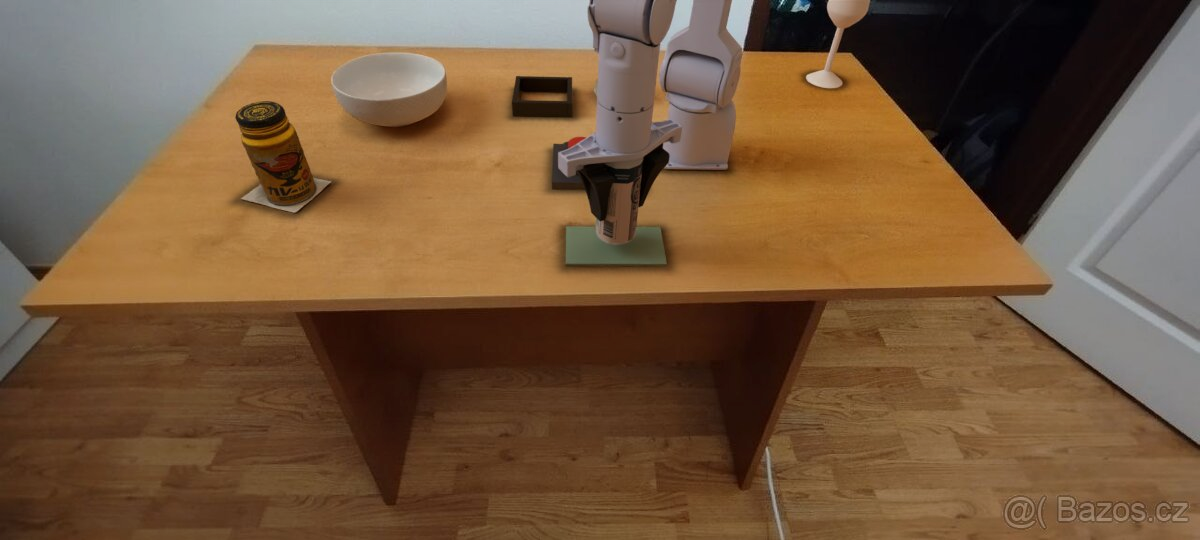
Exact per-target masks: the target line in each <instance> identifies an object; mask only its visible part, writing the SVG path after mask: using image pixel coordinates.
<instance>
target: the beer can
mask: <svg viewBox="0 0 1200 540" xmlns="http://www.w3.org/2000/svg"><path fill="white" fill-rule="evenodd" d="M643 158H644V157H641V158H639V159H635V160H629V161H618V162H606V163H604V166H605V167H607V172H608V173H609V174H610V175H612V176H613V177H614V178H615V181H614V183H613V185H612V187H611V190H610V193H609V198H608V208H607V216H606V219H605V220H603V221H599V220H598V219H597V218H596V217H595V218H596V219H595V227H596V234H597V236H598V237H599V238H600V239H601V240H602V241H604V242H606V243H608V244H614V245H621V244H625V243H628V242H630V241H631V240H632V239H633V238H634V237H635V235H636V227H637V224H638V215H639V208H638V206H639V196H640V187H641V177H642V167H643Z"/></svg>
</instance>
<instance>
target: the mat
mask: <svg viewBox="0 0 1200 540" xmlns="http://www.w3.org/2000/svg"><path fill="white" fill-rule="evenodd" d="M664 244H665V243H664V238H663V233H662V229H661V226H636V235H635V237H634V238H633V239H632V240H631V241H630V242H628V243H625V244H621V245H614V244H608V243H606V242H604V241H602V240H601V239H600V238H599V237H598V236H597V234H596V225H595V226H591V225H590V226H589V225H587V226H586V225H585V226H584V225H583V226H579V225H578V226H577V225H575V226H574V225H567V226H565V266H566V267H667V266H668V262H667V256H666V250H665V245H664Z"/></svg>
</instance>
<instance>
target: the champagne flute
mask: <svg viewBox="0 0 1200 540" xmlns="http://www.w3.org/2000/svg"><path fill="white" fill-rule="evenodd" d="M870 4H871V0H828V2H827V4H826V10H827V14H828V16H829V18H830V20H831V21H832V23H833V25H834V26H835V27H836V31H835V33H834V37H833V40H832V44H831V47H830V50H829V53H828V55H827V59H826V62H825V65H824V69H821V70H817V71H814V72H810V73H808V74H806V76H805V80H806V81H807V82H808V83H810V84H811V85H814V86H816V87H819V88H823V89H837V88H840V87H842V86H843V80H842V79H841V78H839V77H838V76H837V75H836V74H835V73H834V72H833V71H832V68H833V65H834V61H835V58H836V55H837V52H838V49H839V46H840V42H841V40H842V36H843V34H844V31H845V29H847V28H850V27H851V26H854V24H857V23H858V22H859V21H861V20H862V19H864V17H865V16H866V15H867V13H868V11H869V7H870Z"/></svg>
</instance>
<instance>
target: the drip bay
mask: <svg viewBox="0 0 1200 540" xmlns="http://www.w3.org/2000/svg"><path fill="white" fill-rule="evenodd" d="M523 92H524V93H529V92H530V93H566V100H529V99H525V100H524V99H521V97H522V93H523ZM511 99H512V100H511V108H512V117H520V118H521V117H522V118H523V117H524V118H573V76H534V75H533V76H531V75H530V76H529V75H516V76H515V81H514V86H513V94H512V98H511Z"/></svg>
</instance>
